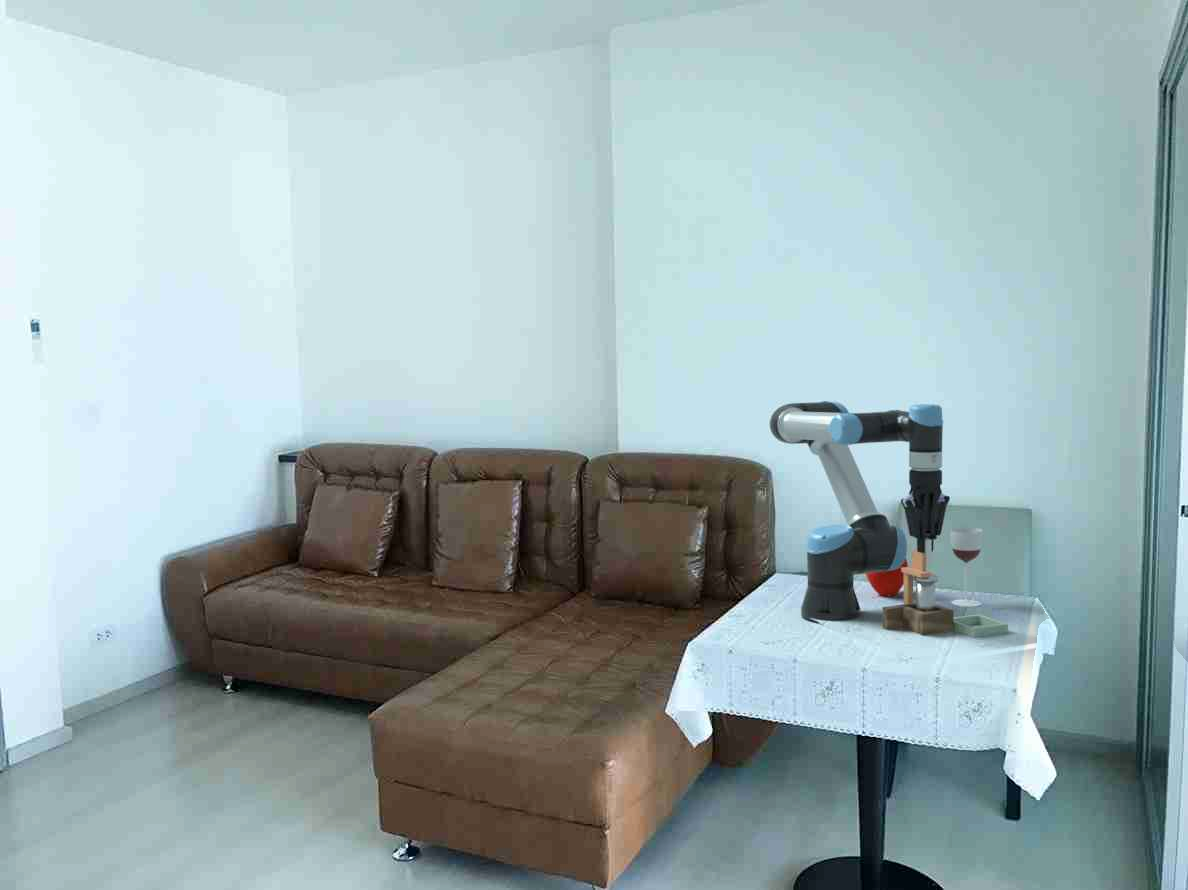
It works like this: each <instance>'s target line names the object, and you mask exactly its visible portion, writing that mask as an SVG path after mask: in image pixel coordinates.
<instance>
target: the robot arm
mask: <svg viewBox="0 0 1188 890" xmlns="http://www.w3.org/2000/svg"><path fill="white" fill-rule="evenodd" d="M943 424H944V419H943V408H942V406H940V405H939V404H929V403H928V404H926V403H922V404H912V405H911V406H910V407H909V410H908V411H905V410H900V409H894V410H893V409H891V410H885V411H877V412H874V411H873V412H849V411H848V409H847V408H846V406H845V405H843V403H841V402H837V401H830V400H823V401H820V402H819V401H818V402H792V403H787V404H783V405H782V406H780V407H778V408H777V409H776V410H774V411H773V413H772V415H771V416H770V420H769V429H770V431H771V435H773V437H774V438H775V439H776V440H778V441H779V442H781V443H782V442H783V443H785V444H789V445H790V444H792V445H793V444H795V445H797V444H798V445H800V444H801V445H802V444H807V446H808V448H809V450H810V452H811V454H813V455H815V456H817V457H818V458H819V460H820V463H821V465H822V467H823V469H824V472H825V474H826V477H827V479H828V481H829V483H830V485H831V488H832V491H833V492H834V495H835V498H836V500H837V502H838V505H839V508H840V509H841V512H842V515H843V516H844V520H845V522H846V524H830V525H824V526H820V527H816V528H814V529H812V530H811V531H810V532H809V533H808V534H807V535H808V536H807V540H806V541H807V543H806V551H807V552H806V553H807V554H806V558H807V559H806V560H807V561H806V563H807V564H806V565H807V586H806V587H807V588H806V591H805V594H804V596H803V600H802V604H801V607H800V615H801V616H800V617H802V618H803V619H805V620H806V621H809V622H814V623H817V624H818V623H820V622H819V621H817V620H820V621H828V622H830V621H831V622H833V621H834V622H839V621H841V622H843V621H850V620H854V619H857V618H859V617H860V616H861V613H862V611H861V606H860V603H859V601H858V597H857V594H856V591H855V589H854V586H855V585H854V575H864V574H865V575H866V573H877V572H887V571H891V570H896V569H898V568H899V567H900V566H901V565H902V564H903V563H904V560H905V558H906V559H907V552H908V542H907V538H906V535H905V534H906V533H905V532H904V530H903V529H902V528H901V527H899V526H896V525H891V524H890V522H889V520H888V518H887V515H885V514H883V513H880V512H878V509H877V507H876V505H875V504H874V500H873V499H872V497H871V496H872V495H871V494H870V492H869V489H868V488H867V485H866V482H865V481H864V479H863V477H862V473H861V471H860V470H859V467H858V465H857V462H856V461H855V458H854V456H853V453H852V452H851V449H850V447H849V446H851V445H858V444H872V443H873V444H874V443H892V442H903V443H904V442H905V443H908V445H909V447H908V448H909V449H908V454H909V457H908V464H909V465H908V467H909V468H911V469H909V472H908V482H909V486H910V489H909V492H908V496H907V497H906V498H901V499H900V503H901V505H902V507H903V508H904V514H905V518H906V523H907V528H908V532H909V533H908V534H909V536H910V537H912V538H915V539H916V550H917V551H918V552H920V553H926V568H927V567H932V552H934V544H935V543H934V541H935V540H937V539H938V536H940V535H942V529H943V525H944V520H945V516H946V510H947V506H948V504H949V502H950V499H951V498H950V496H949V495H945V494H943V491H942V488H941V485H942V484H943V471H942V469H941V468H942V467H943V428H944V427H943ZM820 624H821V623H820Z"/></svg>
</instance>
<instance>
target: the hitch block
mask: <svg viewBox="0 0 1188 890" xmlns="http://www.w3.org/2000/svg"><path fill="white" fill-rule="evenodd" d="M953 618H954V609H950V608H947V607H944V606H941V605H939V604H937V603H935V611H929V612H922V611H919V610H916V602H913V604H910V605H907V604H904V603H903V604H896V605H890V606H884V607H882V629H884V630H886V631H890V630H891V631H892V630H897V629H905V630H907V631H910V632H913V633H914V634H918V635H920V636H928V635H934V634H940V633H941V634H942V633H948V632H949V633H950V632H954V630H953Z"/></svg>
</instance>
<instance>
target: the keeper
mask: <svg viewBox="0 0 1188 890" xmlns="http://www.w3.org/2000/svg"><path fill="white" fill-rule="evenodd" d="M901 572H904V584H903V604H907V605H910V604H913V603H914V576H916V577H920V578H924V577H931V574H932V572H930V571H928V570H927V567H926V553H920V552H918V551H917V549H912V550H911V566H908V567H903V568H901Z"/></svg>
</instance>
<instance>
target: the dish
mask: <svg viewBox="0 0 1188 890" xmlns="http://www.w3.org/2000/svg"><path fill="white" fill-rule="evenodd" d="M971 625H980V626H976V627H975V626H971ZM953 631H955V632H957V633H960V634H963V635H965V636H969V637H971V638H973V639H974V638H975V639H976V638H980V637H987V636H993V635H994V636H995V635H1001V634H1007V633H1009V624H1008V623H1005V622H1004V621H1000V620H997V619H994V618H991V617H988V616H986V615H982V614H979V613H976V614H971V615H970V614H969V615H963V616H956V617H955V616H953Z"/></svg>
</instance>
